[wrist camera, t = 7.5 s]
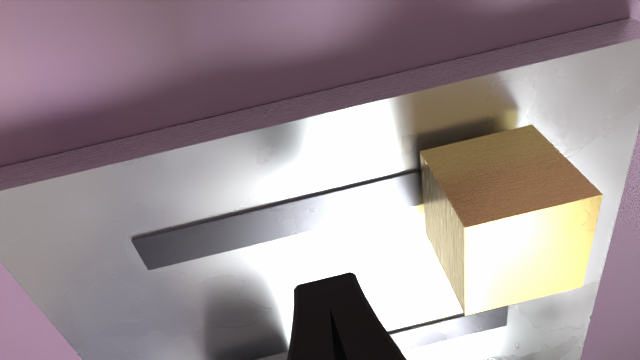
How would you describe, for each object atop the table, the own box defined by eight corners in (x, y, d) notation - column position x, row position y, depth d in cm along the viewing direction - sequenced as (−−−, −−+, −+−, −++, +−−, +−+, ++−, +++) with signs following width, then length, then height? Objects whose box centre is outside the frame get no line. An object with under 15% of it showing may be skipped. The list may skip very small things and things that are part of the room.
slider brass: (425, 234, 14) (465, 315, 12) (419, 150, 13) (464, 228, 10) (523, 210, 14) (582, 286, 12) (532, 124, 13) (603, 194, 10)
